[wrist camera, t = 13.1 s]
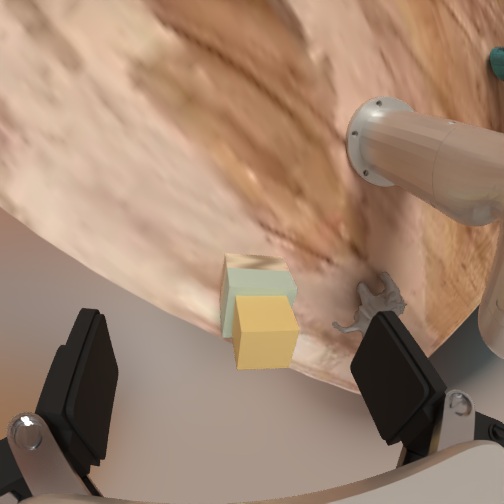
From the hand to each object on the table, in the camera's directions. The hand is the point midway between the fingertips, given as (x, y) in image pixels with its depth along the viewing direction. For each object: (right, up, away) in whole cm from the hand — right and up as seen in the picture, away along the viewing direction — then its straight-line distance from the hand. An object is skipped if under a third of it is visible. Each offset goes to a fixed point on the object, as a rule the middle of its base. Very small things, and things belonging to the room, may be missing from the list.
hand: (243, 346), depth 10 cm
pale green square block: (+1, -3, +30) cm, 30 cm away
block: (+1, -5, +26) cm, 27 cm away
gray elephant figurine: (+19, -5, +39) cm, 43 cm away
